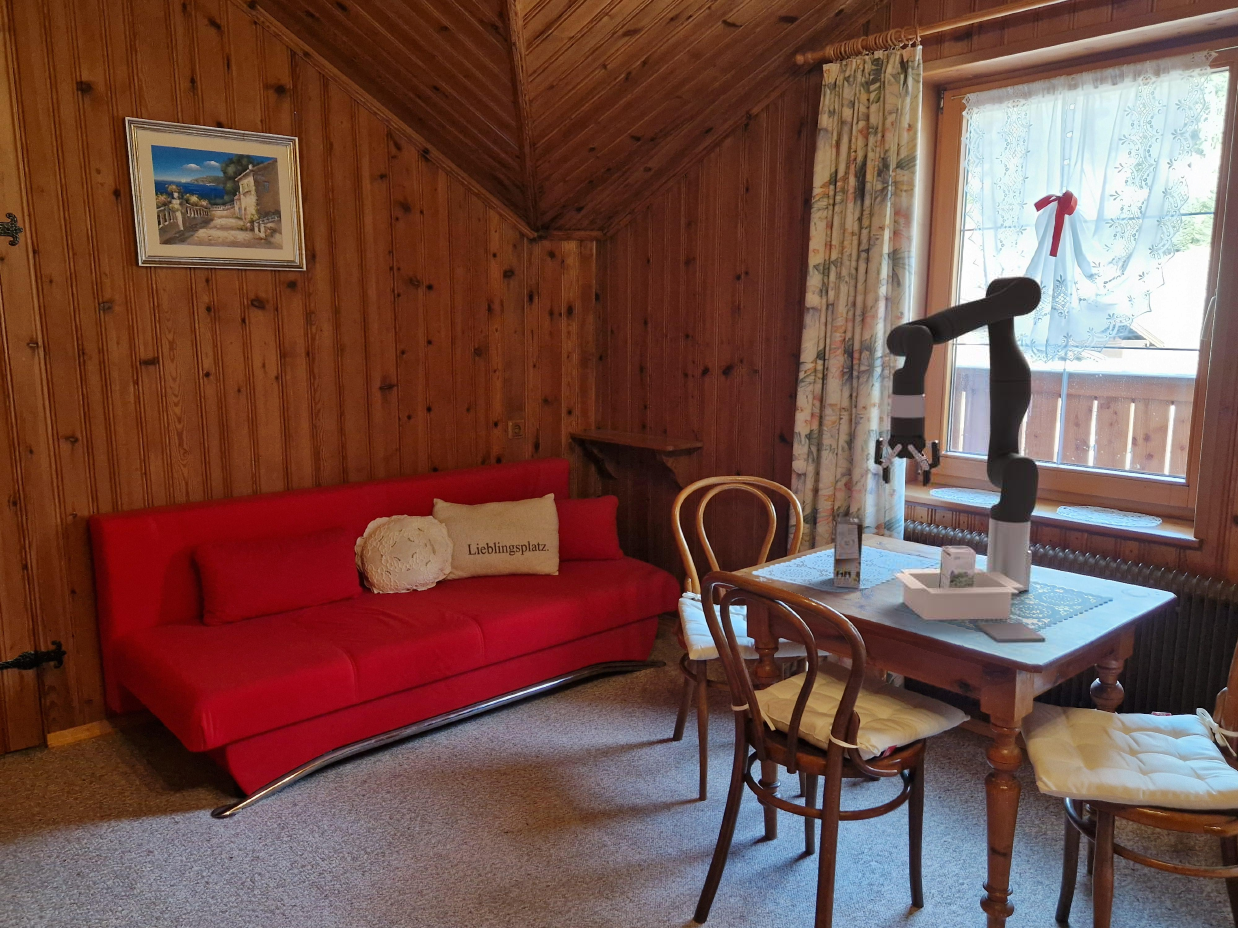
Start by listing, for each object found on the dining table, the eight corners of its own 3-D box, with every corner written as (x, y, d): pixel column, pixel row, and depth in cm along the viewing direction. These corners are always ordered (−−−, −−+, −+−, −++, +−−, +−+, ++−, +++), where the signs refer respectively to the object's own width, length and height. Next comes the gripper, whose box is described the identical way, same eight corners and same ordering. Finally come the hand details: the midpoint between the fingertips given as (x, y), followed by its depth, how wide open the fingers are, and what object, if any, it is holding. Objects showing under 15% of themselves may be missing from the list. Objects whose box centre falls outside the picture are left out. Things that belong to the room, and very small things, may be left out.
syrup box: (961, 605, 211) (965, 544, 209) (972, 613, 205) (976, 551, 203) (937, 606, 211) (940, 544, 208) (947, 614, 205) (951, 551, 202)
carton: (989, 596, 218) (991, 568, 217) (1029, 622, 199) (1032, 591, 198) (885, 598, 217) (887, 569, 215) (916, 624, 198) (917, 593, 196)
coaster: (1021, 624, 197) (1021, 622, 197) (1045, 640, 188) (1045, 637, 187) (976, 625, 197) (976, 622, 197) (997, 641, 187) (997, 638, 187)
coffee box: (860, 588, 224) (863, 524, 222) (833, 587, 226) (836, 523, 223) (858, 578, 233) (861, 516, 231) (832, 577, 235) (835, 515, 232)
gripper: (943, 413, 207) (941, 484, 209) (880, 411, 214) (879, 479, 217) (936, 417, 201) (934, 489, 203) (871, 415, 208) (870, 485, 210)
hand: (906, 484), depth 210 cm, fingers open, 8 cm apart
